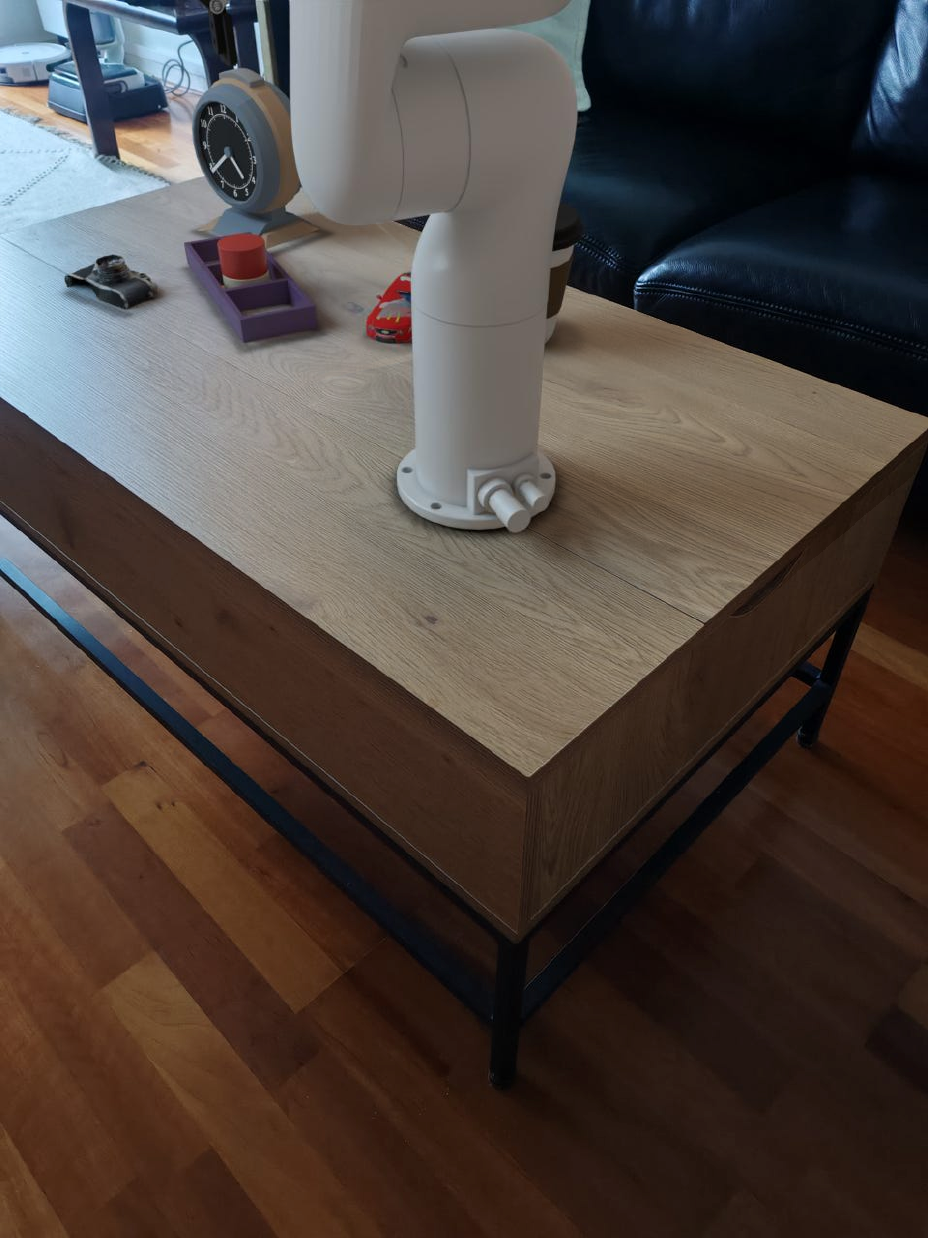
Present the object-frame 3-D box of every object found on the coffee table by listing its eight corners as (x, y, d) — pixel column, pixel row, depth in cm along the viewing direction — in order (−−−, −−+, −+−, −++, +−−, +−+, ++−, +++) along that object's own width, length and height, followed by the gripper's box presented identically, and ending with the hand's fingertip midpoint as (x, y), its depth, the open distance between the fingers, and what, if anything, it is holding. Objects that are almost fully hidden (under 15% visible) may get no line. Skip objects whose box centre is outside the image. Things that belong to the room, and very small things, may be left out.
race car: (409, 354, 95) (408, 315, 92) (358, 345, 96) (355, 306, 93) (455, 300, 104) (455, 263, 101) (408, 292, 105) (407, 255, 103)
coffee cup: (447, 346, 96) (446, 222, 88) (493, 304, 103) (496, 187, 95) (549, 370, 92) (558, 243, 84) (589, 325, 100) (601, 204, 92)
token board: (318, 333, 98) (315, 305, 96) (244, 349, 95) (239, 320, 93) (254, 257, 112) (250, 231, 110) (188, 268, 110) (183, 242, 108)
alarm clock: (193, 229, 119) (163, 67, 107) (254, 208, 124) (233, 51, 112) (271, 259, 112) (249, 89, 100) (332, 235, 117) (318, 72, 106)
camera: (103, 276, 108) (94, 238, 105) (165, 300, 103) (158, 261, 101) (65, 291, 105) (55, 252, 102) (127, 316, 100) (118, 277, 98)
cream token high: (276, 286, 102) (274, 275, 101) (231, 294, 100) (229, 283, 99) (262, 270, 105) (260, 259, 104) (218, 277, 103) (217, 266, 102)
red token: (274, 275, 101) (270, 246, 99) (229, 283, 99) (224, 253, 97) (260, 258, 104) (256, 230, 102) (216, 266, 103) (211, 237, 101)
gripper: (155, -187, 71) (198, 76, 82) (374, -190, 77) (386, 56, 88) (132, -189, 76) (175, 59, 87) (339, -192, 82) (354, 41, 93)
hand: (281, 57), depth 87 cm, fingers open, 9 cm apart
